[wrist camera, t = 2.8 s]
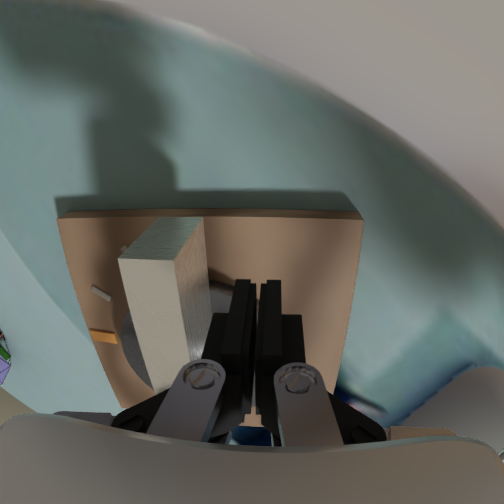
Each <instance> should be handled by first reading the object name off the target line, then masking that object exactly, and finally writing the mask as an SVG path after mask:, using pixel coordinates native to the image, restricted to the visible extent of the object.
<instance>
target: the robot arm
mask: <svg viewBox="0 0 504 504" xmlns="http://www.w3.org/2000/svg"><path fill="white" fill-rule="evenodd" d="M254 374H255V407H256V415H261V424H262V425H263V426H264V427H265V428H266V429H267V430H269V431H270V432H271V441H272V447H268V446H244V445H229V442H230V439H231V436H232V429H233V428H235V427H237V426H238V425H240V424H241V423H244V419H245V414H251V408H252V396H253V385H254ZM0 504H504V463H503V462H502V460H501V458H500V456H499V455H498V453H497V452H496V451H495V450H494V449H493V448H492V447H491V446H490V445H489V444H487V443H485V442H483V441H480V440H478V439H474V438H469V437H461V436H457V435H456V434H455V433H454V432H452V431H451V430H449V429H444V428H418V427H400V426H391V427H390V429H386V428H382V427H381V426H380V425H379V424H378V423H377V422H375V421H373V420H372V419H370V418H368V417H367V416H365V415H364V414H362V413H360V412H359V411H357V410H356V409H354V408H353V407H351V406H349V405H348V404H346V403H345V402H343V401H342V400H340V399H339V398H337V397H335V396H334V395H332V394H331V393H329V392H328V391H327V390H326V387H325V384H324V381H323V378H322V375H321V374H320V372H319V371H318V370H317V369H316V368H315V367H313V366H311V365H309V364H306V357H305V345H304V334H303V323H302V315H301V314H282V294H281V280H267V283H261V287H260V299H259V310H258V322H257V286H256V283H251V279H236V281H235V285H234V290H233V295H232V299H231V304H230V309H229V313H218V312H214V313H213V316H212V319H211V323H210V327H209V330H208V334H207V338H206V341H205V345H204V349H203V352H202V356H201V359H199V360H194V361H191V362H189V363H187V364H186V365H184V366H183V367H182V368H181V369H180V371H179V372H178V374H177V376H176V378H175V380H174V382H173V384H172V385H171V387H170V388H168V389H166V390H164V391H162V392H161V393H159V394H157V395H155V396H153V397H151V398H149V399H147V400H145V401H143V402H140V403H138V404H136V405H134V406H132V407H130V408H128V409H126V410H124V411H122V412H121V413H119V414H118V415H117V416H112V415H111V413H93V412H70V411H60V412H56V413H54V414H43V413H34V414H23V415H18V416H14V417H12V418H10V419H8V420H7V421H5V422H4V423H3V424H2V425H1V426H0Z"/></svg>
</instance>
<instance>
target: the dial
mask: <svg viewBox="0 0 504 504" xmlns="http://www.w3.org/2000/svg"><path fill="white" fill-rule="evenodd" d="M118 263H119V267H120V272H121V276H122V281H123V285H124V289H125V293H126V297H127V301H128V305H129V309H130V310H129V312H128V313H127V315H126V317H125V319H124V321H123V324H122V328H121V344H122V348H123V352H124V354H125V357H126V359H127V361H128V363H129V365H130V366H131V368H132V369H133V370H134V372H135V373H136V374H137V376H138V377H139V378H140V379H141V380H142V381H143V382H144V383H145V384H147V385H148V386H149V387H150V388H151V389H153V390H154V392H155V395H157V394H159V393H161V392H162V391H164V390H166V389H168V388H170V387H171V385H172V384H173V382H174V380H175V378H176V376H177V374H178V372H179V371H180V369H181V368H182V367H183V366H184V365H186V364H187V363H189V362H191V361H194V360H199V359H201V356H202V352H203V349H204V345H205V341H206V338H207V334H208V330H209V327H210V323H211V319H212V316H213V313H214V312H218V313H229V309H230V304H231V299H232V295H233V290H234V287H233V286H231V285H228V284H225V283H222V282H219V281H214V280H209V279H208V269H207V258H206V246H205V234H204V221H203V217H158V218H157V219H156V220H155V221H154V222H153V223H152V224H151V225H150V226H149V227H148V228H147V229H146V230H145V231H144V232H143V233H142V234H141V235H140V236H139V237H138V238H137V239H136V240H135V241H134V242H133V243H132V244H131V245H130V246H129V247H128V248H127V249H126V250H125V251H124V252H123V253H122V254H121V255H120V256H119V258H118ZM258 310H259V301H258V300H257V322H258ZM254 406H255V374H254V385H253V396H252V407H254Z"/></svg>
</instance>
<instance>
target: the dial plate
mask: <svg viewBox="0 0 504 504" xmlns="http://www.w3.org/2000/svg"><path fill="white" fill-rule="evenodd" d="M158 217H203V221H204V234H205V246H206V258H207V269H208V279H209V280H214V281H219V282H222V283H225V284H228V285H231V286H233V287H234V285H235V281H236V279H251V283H256V286H257V300H258V301H259V299H260V287H261V283H267V280H281V294H282V314H301V315H302V323H303V334H304V345H305V357H306V364H309V365H311V366H313V367H315V368H316V369H317V370H318V371H319V372H320V374H321V375H322V378H323V381H324V384H325V387H326V390H327V391H328V392H329V393H331V394H332V395H333V392H334V388H335V384H336V380H337V375H338V371H339V367H340V362H341V358H342V353H343V348H344V344H345V339H346V334H347V329H348V323H349V318H350V313H351V307H352V301H353V296H354V290H355V283H356V277H357V270H358V264H359V256H360V249H361V241H362V233H363V225H364V219H363V218H362V216H361V215H360V213H359V212H352V211H327V210H294V209H233V208H188V209H128V210H97V211H73V212H67V213H65V214H64V215H62V216H60V217H59V218H57V224H58V228H59V232H60V237H61V241H62V245H63V249H64V253H65V257H66V261H67V264H68V268H69V272H70V275H71V278H72V282H73V285H74V289H75V292H76V295H77V298H78V301H79V304H80V307H81V310H82V313H83V316H84V319H85V322H86V325H87V327H88V330H89V333H90V336H91V338H92V341H93V344H94V346H95V349H96V351H97V354H98V356H99V359H100V361H101V364H102V366H103V368H104V371H105V373H106V375H107V378H108V380H109V382H110V384H111V387H112V389H113V391H114V393H115V395H116V397H117V399H118V402H119V404H120V406H121V407H122V408H126V409H128V408H130V407H132V406H134V405H136V404H138V403H140V402H143V401H145V400H147V399H149V398H151V397H153V396H155V392H154V390H153V389H151V388H150V387H149V386H148V385H147V384H145V383H144V382H143V381H142V380H141V379H140V378H139V377H138V376H137V374H136V373H135V372H134V370H133V369H132V368H131V366H130V365H129V363H128V361H127V359H126V357H125V354H124V352H123V348H122V344H121V328H122V324H123V321H124V319H125V317H126V315H127V313H128V312H129V310H130V309H129V305H128V301H127V297H126V293H125V289H124V285H123V281H122V276H121V272H120V267H119V263H118V258H119V256H120V255H121V254H122V253H123V252H124V251H125V250H126V249H127V248H128V247H129V246H130V245H131V244H132V243H133V242H134V241H135V240H136V239H137V238H138V237H139V236H140V235H141V234H142V233H143V232H144V231H145V230H146V229H147V228H148V227H149V226H150V225H151V224H152V223H153V222H154V221H155V220H156V219H157V218H158ZM240 425H242V426H256V427H264V426H263V425H262V424H261V415H256V407H255V406H254V407H252V408H251V414H245V419H244V423H241V424H240Z"/></svg>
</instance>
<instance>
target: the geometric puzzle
mask: <svg viewBox="0 0 504 504" xmlns="http://www.w3.org/2000/svg"><path fill="white" fill-rule="evenodd" d="M2 334H3V332H2V333H1V332H0V338H1V336H2ZM3 337H4V335H3ZM4 339H5V338H4ZM4 341H5V340H4ZM5 342H6V341H5ZM5 345H7V344H5ZM7 348H8V347H7ZM7 348H6V349H7ZM8 351H9V350H8ZM9 354H10V353H9ZM9 354H8V352H6V351H5V350H4V349H3V348H2V347H1V346H0V383H1V385H2V384H3V382H4V379H5V377H6V375H7V373H8V371H9V369H10V368H11V367H12V365H10V364H11V363H10V364H9V362H7V360H8V359H9V358H10V357H11V356H10V355H9ZM9 360H10V359H9Z"/></svg>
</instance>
